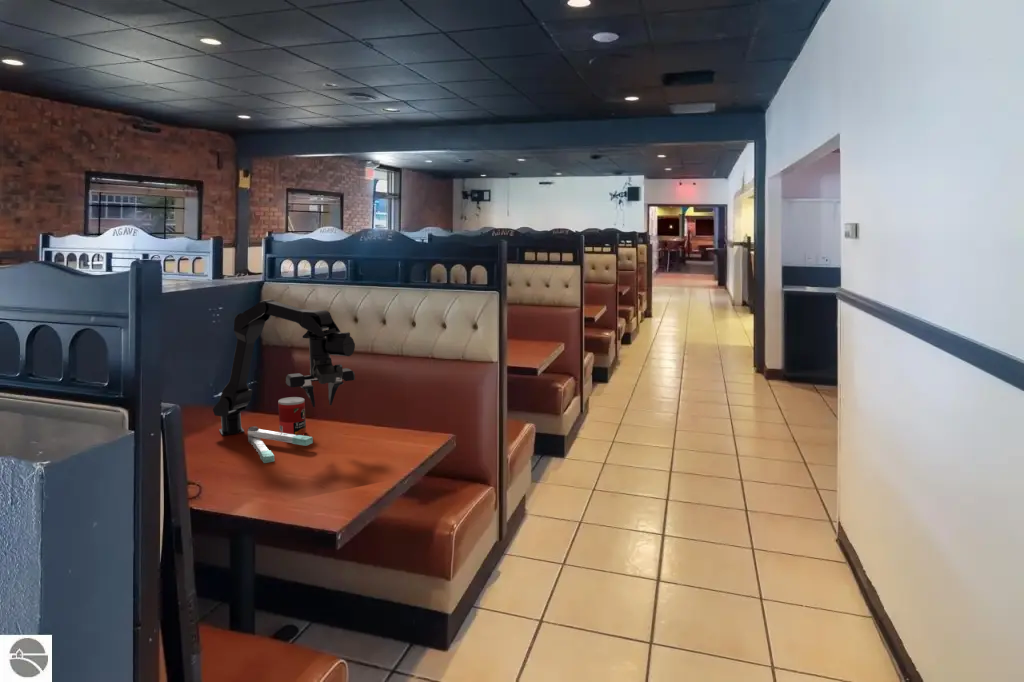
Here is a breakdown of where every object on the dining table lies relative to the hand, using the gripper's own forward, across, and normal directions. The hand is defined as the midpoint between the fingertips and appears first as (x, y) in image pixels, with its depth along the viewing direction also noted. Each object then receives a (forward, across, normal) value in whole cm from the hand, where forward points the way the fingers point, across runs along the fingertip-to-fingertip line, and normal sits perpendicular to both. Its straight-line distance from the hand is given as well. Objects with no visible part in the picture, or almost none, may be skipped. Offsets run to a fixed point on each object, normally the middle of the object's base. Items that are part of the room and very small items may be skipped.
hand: (322, 406), depth 189 cm
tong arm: (+10, -11, +6) cm, 16 cm away
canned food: (+12, -5, +16) cm, 21 cm away
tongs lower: (+12, -17, +4) cm, 21 cm away
